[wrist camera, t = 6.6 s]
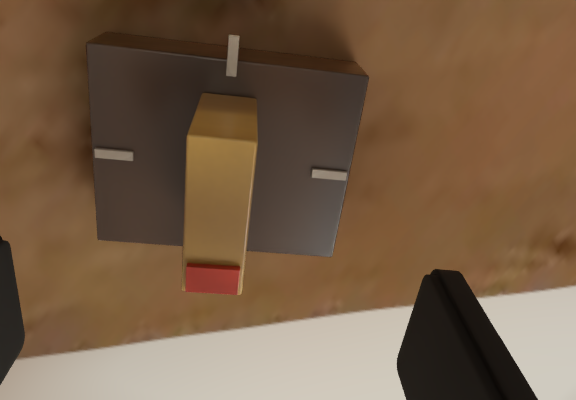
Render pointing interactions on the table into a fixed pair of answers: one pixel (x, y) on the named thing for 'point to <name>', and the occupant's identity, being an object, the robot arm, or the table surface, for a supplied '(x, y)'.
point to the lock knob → (218, 193)
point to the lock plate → (176, 122)
